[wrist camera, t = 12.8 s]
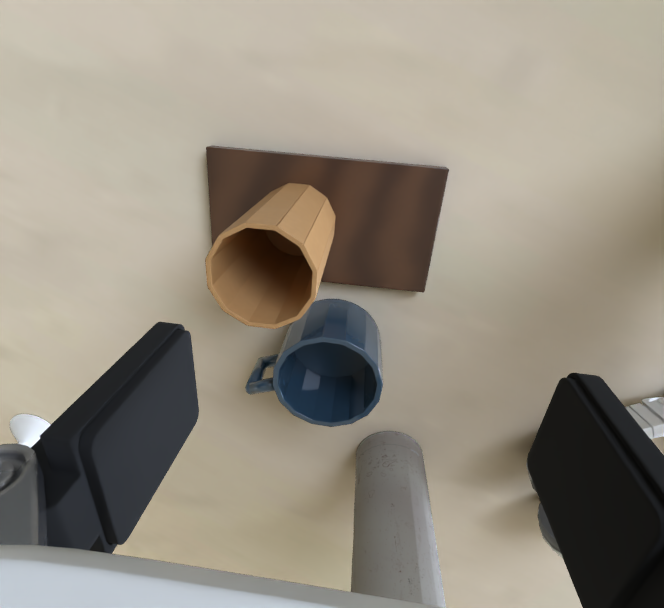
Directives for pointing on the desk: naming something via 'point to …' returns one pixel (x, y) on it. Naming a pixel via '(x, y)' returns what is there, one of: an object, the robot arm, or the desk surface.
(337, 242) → the serving board
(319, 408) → the mug
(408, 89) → the desk surface
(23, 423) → the champagne flute
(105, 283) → the desk surface
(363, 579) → the thermos bottle
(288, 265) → the paper cup
